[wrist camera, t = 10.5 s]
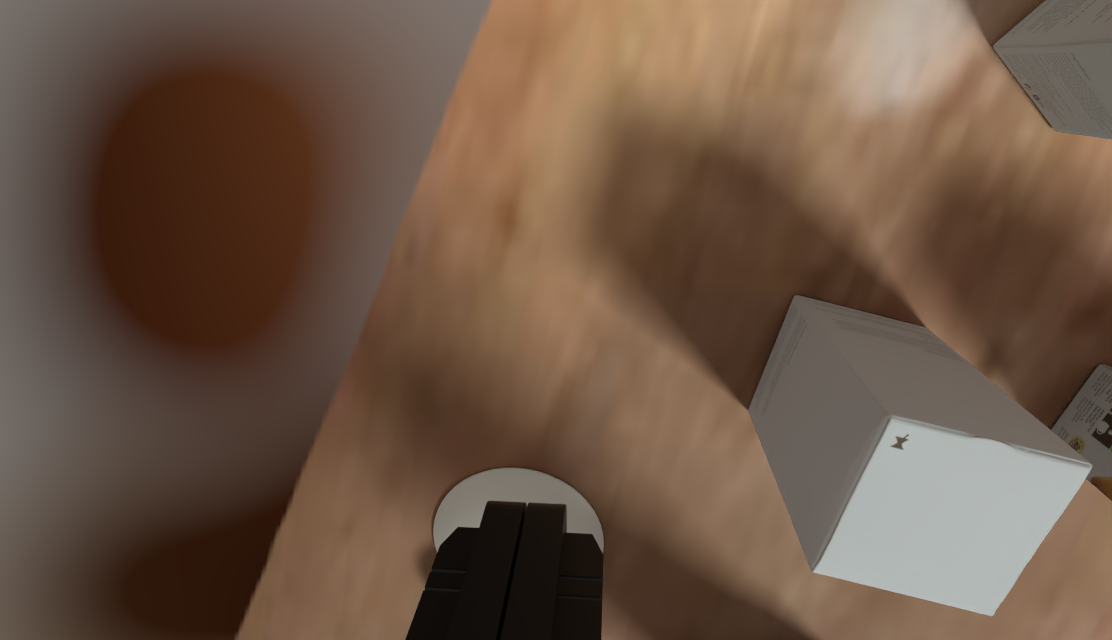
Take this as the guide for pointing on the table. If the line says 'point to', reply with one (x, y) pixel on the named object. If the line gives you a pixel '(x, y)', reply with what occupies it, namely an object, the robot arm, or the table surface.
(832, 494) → the supplement box
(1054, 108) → the small box
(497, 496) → the disc
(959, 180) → the table surface
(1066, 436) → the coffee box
